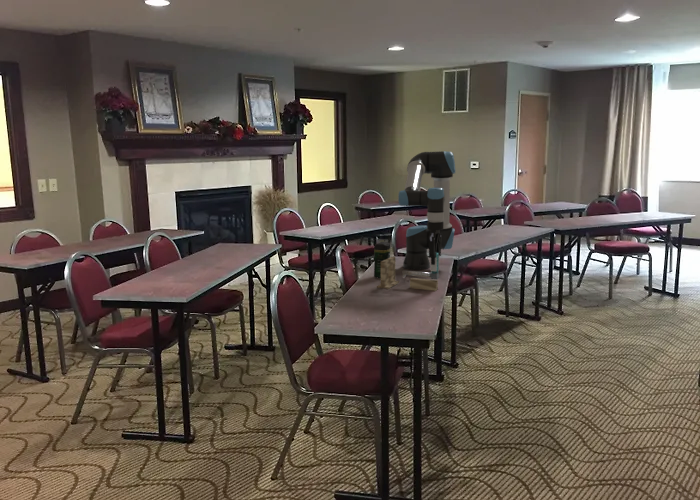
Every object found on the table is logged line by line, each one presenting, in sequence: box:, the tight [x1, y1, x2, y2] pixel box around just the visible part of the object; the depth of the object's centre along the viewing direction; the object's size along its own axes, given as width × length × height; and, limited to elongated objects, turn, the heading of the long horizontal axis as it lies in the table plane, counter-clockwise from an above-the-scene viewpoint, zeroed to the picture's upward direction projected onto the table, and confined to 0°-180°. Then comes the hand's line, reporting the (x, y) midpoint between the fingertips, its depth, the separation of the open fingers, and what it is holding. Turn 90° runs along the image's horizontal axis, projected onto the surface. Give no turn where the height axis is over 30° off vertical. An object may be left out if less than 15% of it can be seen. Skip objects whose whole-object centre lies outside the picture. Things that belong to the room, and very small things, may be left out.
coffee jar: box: [373, 241, 391, 279], centre depth 304 cm, size 10×8×19 cm
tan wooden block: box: [376, 256, 400, 290], centre depth 286 cm, size 14×6×13 cm, turn 153°
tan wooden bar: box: [409, 277, 439, 292], centre depth 279 cm, size 3×13×4 cm, turn 63°
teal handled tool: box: [402, 252, 440, 280], centre depth 278 cm, size 3×18×13 cm, turn 63°
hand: (434, 270), depth 275 cm, fingers closed on teal handled tool, 3 cm apart
